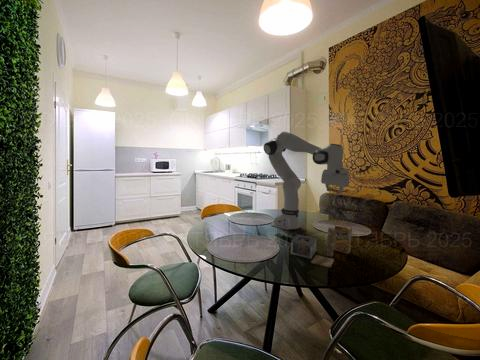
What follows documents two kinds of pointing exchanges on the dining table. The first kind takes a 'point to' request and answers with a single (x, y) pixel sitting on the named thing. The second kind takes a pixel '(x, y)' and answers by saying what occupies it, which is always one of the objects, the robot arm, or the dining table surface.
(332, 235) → the beige square bar
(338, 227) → the candy box
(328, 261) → the cork pad
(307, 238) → the guard box
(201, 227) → the dining table surface
